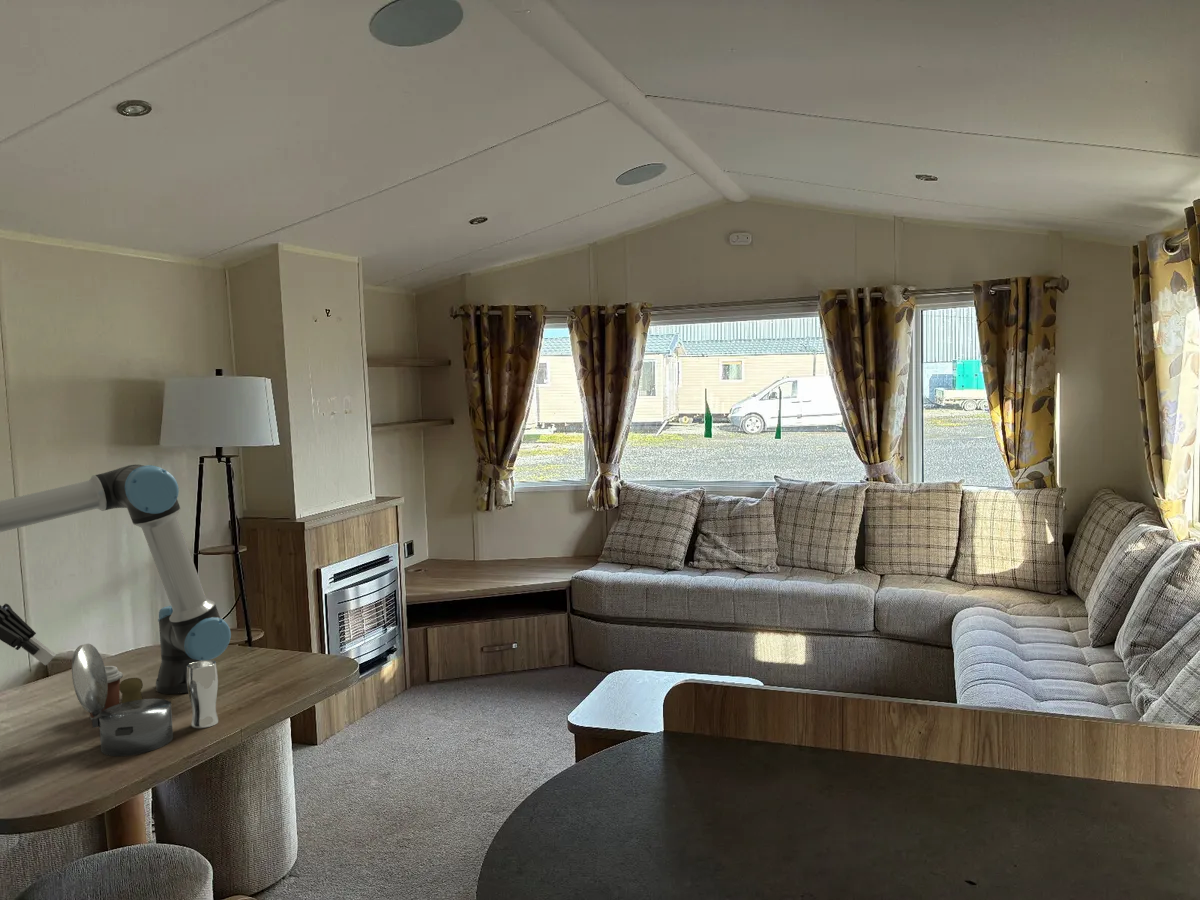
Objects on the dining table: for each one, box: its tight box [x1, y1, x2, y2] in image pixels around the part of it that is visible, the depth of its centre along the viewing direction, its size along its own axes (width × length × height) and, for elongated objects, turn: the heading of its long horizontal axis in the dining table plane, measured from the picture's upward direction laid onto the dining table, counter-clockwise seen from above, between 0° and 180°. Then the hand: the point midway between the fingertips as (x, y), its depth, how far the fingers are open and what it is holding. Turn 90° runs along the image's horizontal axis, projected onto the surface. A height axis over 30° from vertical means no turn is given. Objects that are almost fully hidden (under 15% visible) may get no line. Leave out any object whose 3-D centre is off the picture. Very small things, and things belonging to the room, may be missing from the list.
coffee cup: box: [89, 665, 124, 721], centre depth 229 cm, size 9×9×12 cm
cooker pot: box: [91, 698, 174, 757], centre depth 210 cm, size 16×19×8 cm
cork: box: [119, 677, 144, 704], centre depth 224 cm, size 6×6×11 cm
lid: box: [71, 643, 108, 716], centre depth 208 cm, size 16×16×2 cm
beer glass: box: [187, 659, 219, 729], centre depth 221 cm, size 7×7×15 cm
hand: (50, 660), depth 206 cm, fingers closed
